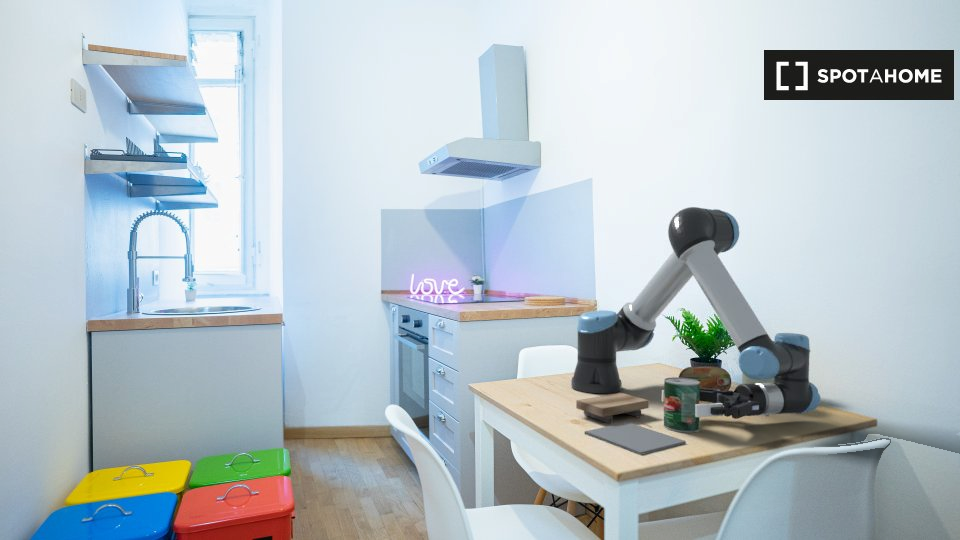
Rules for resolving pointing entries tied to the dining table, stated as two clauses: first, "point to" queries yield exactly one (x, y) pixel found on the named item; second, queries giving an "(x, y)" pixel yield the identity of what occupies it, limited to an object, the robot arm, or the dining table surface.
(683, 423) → the canned tomato
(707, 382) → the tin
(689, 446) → the dining table surface
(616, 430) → the flat gray pad
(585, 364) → the robot arm
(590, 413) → the wooden serving board
